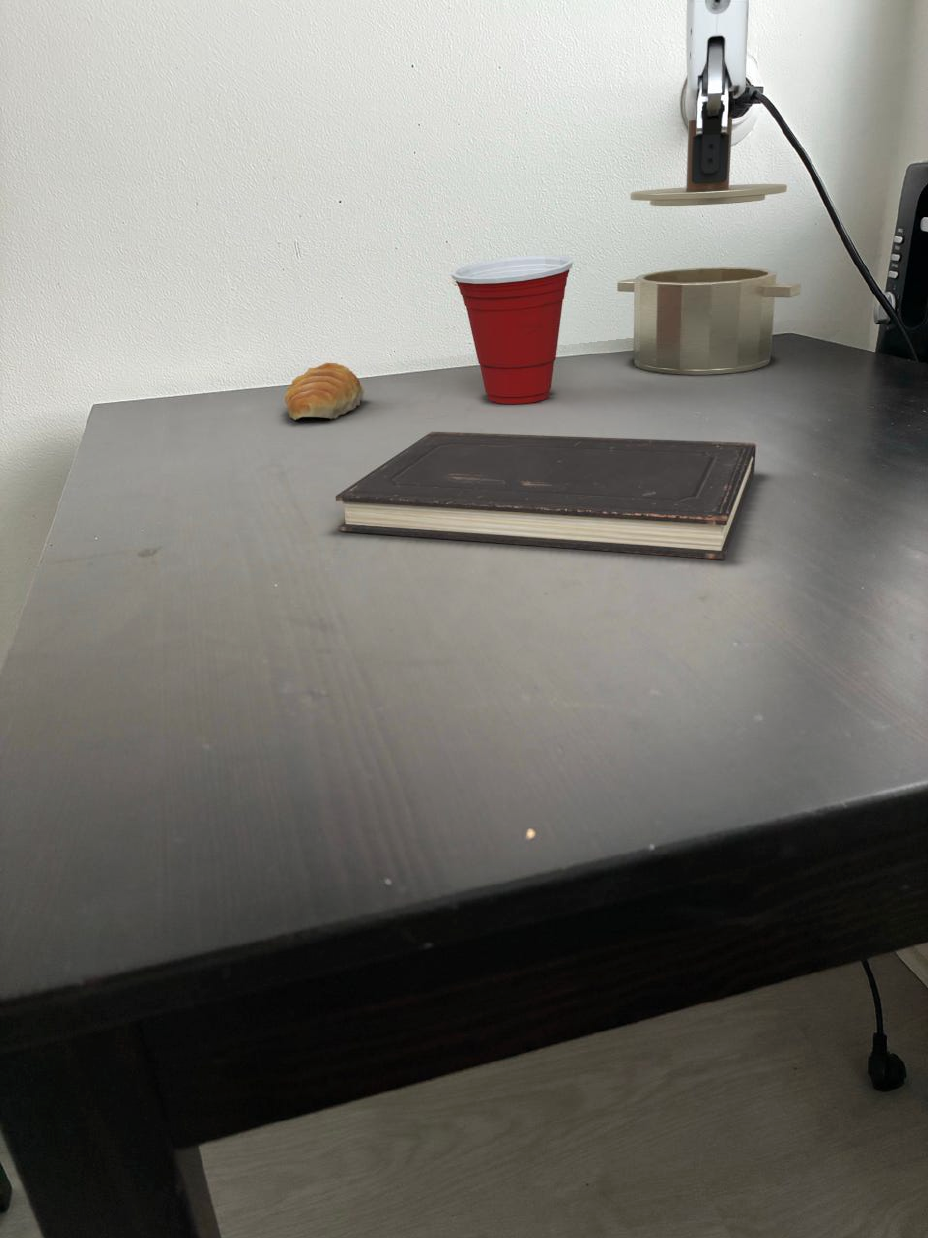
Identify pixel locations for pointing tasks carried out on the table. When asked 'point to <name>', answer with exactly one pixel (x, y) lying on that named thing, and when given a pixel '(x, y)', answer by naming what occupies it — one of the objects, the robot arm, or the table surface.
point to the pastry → (324, 392)
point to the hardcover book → (559, 492)
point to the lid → (707, 185)
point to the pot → (704, 319)
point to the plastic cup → (515, 322)
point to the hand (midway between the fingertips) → (708, 179)
